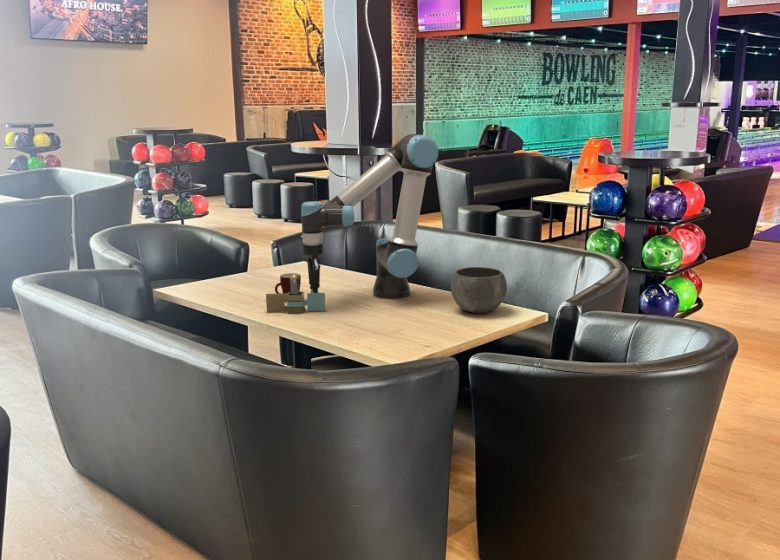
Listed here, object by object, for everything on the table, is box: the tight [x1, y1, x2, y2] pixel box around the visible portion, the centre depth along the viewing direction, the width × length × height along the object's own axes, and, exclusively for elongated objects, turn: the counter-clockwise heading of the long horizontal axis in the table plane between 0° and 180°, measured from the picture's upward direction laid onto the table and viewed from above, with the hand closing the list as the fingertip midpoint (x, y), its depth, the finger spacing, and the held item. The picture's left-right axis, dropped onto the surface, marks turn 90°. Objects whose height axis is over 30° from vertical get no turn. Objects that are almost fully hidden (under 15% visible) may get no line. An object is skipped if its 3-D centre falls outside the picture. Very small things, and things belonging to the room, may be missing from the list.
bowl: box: [450, 266, 508, 314], centre depth 286 cm, size 20×20×15 cm
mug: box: [274, 272, 302, 294], centre depth 307 cm, size 10×8×10 cm
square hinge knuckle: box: [265, 291, 306, 315], centre depth 290 cm, size 14×6×7 cm, turn 90°
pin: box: [290, 273, 300, 308], centre depth 290 cm, size 3×3×14 cm
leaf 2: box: [286, 292, 327, 312], centre depth 290 cm, size 14×6×7 cm, turn 90°
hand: (315, 304), depth 294 cm, fingers closed
